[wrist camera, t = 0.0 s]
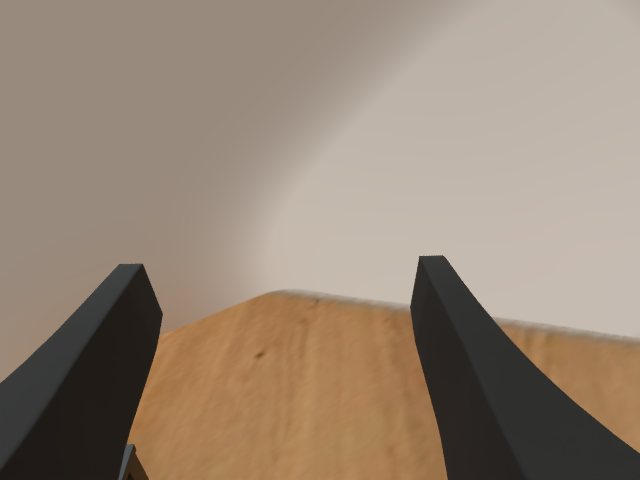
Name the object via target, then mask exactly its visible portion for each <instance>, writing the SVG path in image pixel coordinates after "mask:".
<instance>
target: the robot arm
mask: <svg viewBox="0 0 640 480" xmlns="http://www.w3.org/2000/svg"><path fill="white" fill-rule="evenodd" d="M410 309H411V316H412V323H413V330H414V336H415V343H416V346H417V350H418V354H419V358H420V361H421V365H422V369H423V373H424V376H425V380H426V383H427V387H428V391H429V394H430V398H431V402H432V405H433V409H434V413H435V416H436V420H437V424H438V428H439V433H440V437H441V442H442V448H443V454H444V460H445V465H446V471H447V477H448V480H640V453H638V452H637V451H636V450H634V449H633V448H632V447H630V446H629V445H628V444H626V443H625V442H623V441H622V440H621V439H619V438H618V437H617V436H616V435H614V434H613V433H612V432H611V431H609V430H608V429H607V428H606V427H605V426H603V425H602V424H601V423H600V422H598V421H597V420H596V419H595V418H593V417H592V416H591V415H590V414H589V413H587V412H586V411H585V410H584V409H582V408H581V407H580V406H579V405H578V404H576V403H575V402H574V401H573V400H572V399H571V398H570V397H568V396H567V395H566V394H565V393H564V392H563V391H562V390H561V389H560V388H558V387H557V386H556V385H555V384H554V383H553V382H552V381H551V380H550V379H549V378H548V377H547V376H546V375H545V374H544V373H542V372H541V371H540V370H539V369H538V368H537V367H536V366H535V365H534V364H533V363H532V362H531V361H530V360H529V359H528V358H527V357H526V356H525V355H524V353H523V352H522V351H521V350H520V349H519V348H518V347H517V346H516V345H515V344H514V343H513V342H512V341H511V340H510V338H509V337H508V336H507V335H506V334H505V333H504V332H503V331H502V329H501V328H500V327H499V326H498V325H497V324H496V322H495V321H494V320H493V319H492V318H491V316H490V315H489V314H488V313H487V312H486V311H485V310H484V308H483V307H482V306H481V304H480V303H479V302H478V301H477V299H476V298H475V297H474V296H473V294H472V293H471V292H470V291H469V289H468V288H467V286H466V285H465V284H464V282H463V281H462V280H461V278H460V277H459V276H458V274H457V273H456V272H455V270H454V269H453V267H452V266H451V265H450V263H449V262H448V261H447V259H446V258H445V257H444V256H443V255H442V256H419V262H418V267H417V273H416V279H415V284H414V289H413V295H412V300H411V306H410ZM162 316H163V313H162V311H161V308H160V306H159V303H158V301H157V298H156V296H155V293H154V291H153V288H152V286H151V283H150V281H149V278H148V276H147V273H146V271H145V268H144V266H143V264H119V265H118V266H117V267H116V268H115V269H114V270H113V271H112V273H111V274H110V275H109V276H108V277H107V278H106V279H105V280H104V281H103V282H102V283H101V284H100V285H99V286H98V288H97V289H96V290H95V291H94V292H93V293H92V294H91V295H90V296H89V298H87V300H86V301H85V302H84V303H83V304H82V305H81V306H80V307H79V308H78V309H77V310H76V311H75V312H74V313H73V314H72V315H71V316H70V317H69V318H68V319H67V321H66V322H65V323H64V324H63V325H62V326H61V327H60V328H59V329H58V330H57V331H56V332H55V333H54V334H53V335H52V336H51V337H50V338H49V339H48V340H47V341H46V342H45V343H44V344H43V345H41V346H40V347H39V348H38V349H37V350H36V351H35V352H34V353H33V354H32V355H31V356H30V357H29V358H28V359H27V360H26V361H25V362H24V363H23V364H22V365H20V366H19V367H18V368H17V369H16V370H15V371H14V372H13V373H12V374H10V375H9V376H8V377H7V378H6V379H5V380H3V381H2V382H1V383H0V480H118V479H119V475H120V470H121V465H122V461H123V456H124V452H125V447H126V444H127V440H128V437H129V433H130V429H131V426H132V423H133V420H134V417H135V414H136V411H137V408H138V405H139V402H140V399H141V396H142V393H143V390H144V387H145V384H146V381H147V378H148V374H149V371H150V368H151V365H152V362H153V359H154V356H155V352H156V349H157V344H158V339H159V334H160V327H161V321H162Z"/></svg>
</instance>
